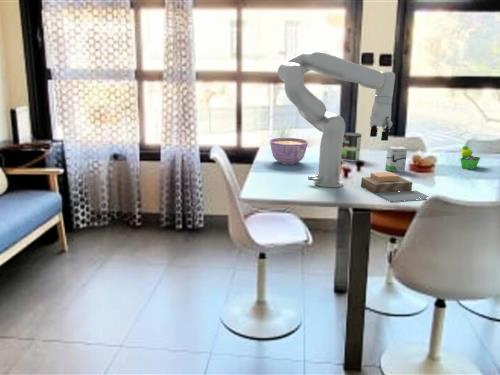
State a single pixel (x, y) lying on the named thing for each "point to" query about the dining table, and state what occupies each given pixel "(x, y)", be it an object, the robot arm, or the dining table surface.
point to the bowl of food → (288, 149)
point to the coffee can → (351, 146)
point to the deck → (386, 185)
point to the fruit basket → (468, 159)
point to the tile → (384, 176)
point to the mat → (402, 195)
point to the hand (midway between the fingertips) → (378, 138)
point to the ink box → (396, 159)
